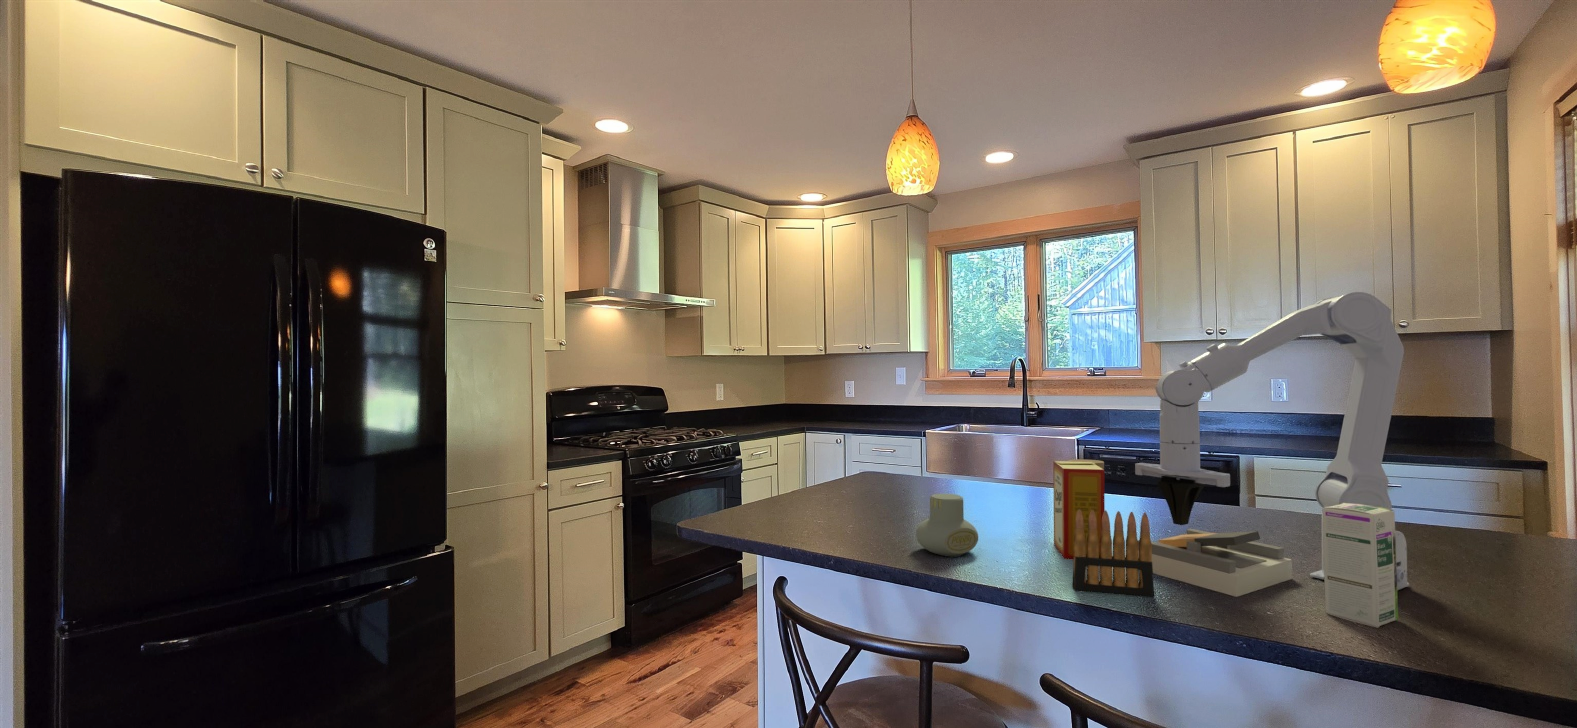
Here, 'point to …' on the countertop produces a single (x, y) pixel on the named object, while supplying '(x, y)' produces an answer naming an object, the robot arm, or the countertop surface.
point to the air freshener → (947, 527)
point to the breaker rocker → (1212, 539)
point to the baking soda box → (1076, 501)
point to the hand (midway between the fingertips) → (1180, 523)
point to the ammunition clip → (1113, 557)
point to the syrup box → (1360, 563)
